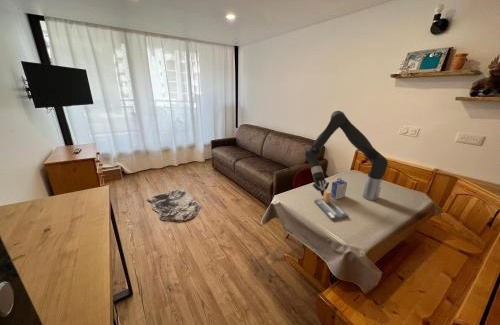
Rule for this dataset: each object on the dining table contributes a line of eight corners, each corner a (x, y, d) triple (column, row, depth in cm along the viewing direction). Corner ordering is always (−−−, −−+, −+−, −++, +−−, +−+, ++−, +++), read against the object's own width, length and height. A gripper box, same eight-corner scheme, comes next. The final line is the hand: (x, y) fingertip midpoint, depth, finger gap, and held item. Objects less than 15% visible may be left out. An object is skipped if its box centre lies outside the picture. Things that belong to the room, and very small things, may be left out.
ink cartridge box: (339, 193, 156) (342, 176, 151) (345, 197, 152) (348, 179, 146) (329, 196, 153) (332, 179, 147) (335, 199, 148) (338, 182, 143)
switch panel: (329, 200, 147) (330, 196, 146) (348, 218, 128) (349, 213, 127) (314, 202, 145) (314, 198, 143) (331, 220, 126) (331, 215, 124)
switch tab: (326, 200, 143) (328, 190, 140) (328, 202, 140) (330, 192, 137) (322, 201, 142) (324, 191, 139) (324, 203, 139) (326, 193, 136)
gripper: (311, 172, 144) (318, 195, 138) (328, 170, 147) (335, 193, 140) (307, 175, 151) (313, 198, 145) (323, 174, 154) (329, 196, 147)
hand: (324, 196), depth 143 cm, fingers closed
